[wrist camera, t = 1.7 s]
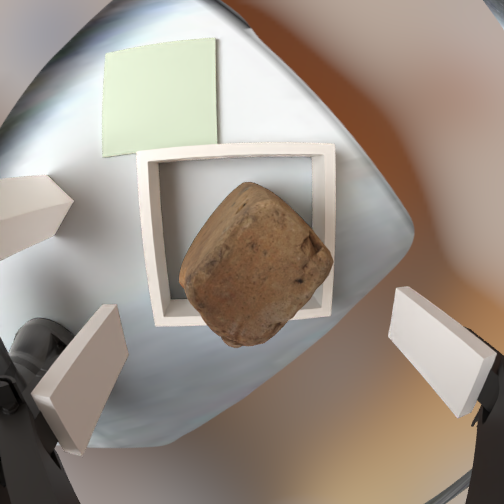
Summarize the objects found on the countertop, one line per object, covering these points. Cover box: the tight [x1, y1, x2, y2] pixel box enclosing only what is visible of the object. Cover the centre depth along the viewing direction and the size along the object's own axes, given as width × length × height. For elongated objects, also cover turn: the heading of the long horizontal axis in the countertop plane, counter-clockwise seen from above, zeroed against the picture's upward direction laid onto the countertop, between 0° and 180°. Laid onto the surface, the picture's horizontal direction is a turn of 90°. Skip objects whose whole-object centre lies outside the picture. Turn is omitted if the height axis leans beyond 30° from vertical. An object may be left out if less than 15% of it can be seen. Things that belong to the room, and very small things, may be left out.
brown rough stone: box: [179, 182, 334, 348], centre depth 26 cm, size 11×8×20 cm
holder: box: [136, 142, 336, 326], centre depth 33 cm, size 20×19×5 cm
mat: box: [102, 38, 217, 158], centre depth 30 cm, size 14×14×1 cm
